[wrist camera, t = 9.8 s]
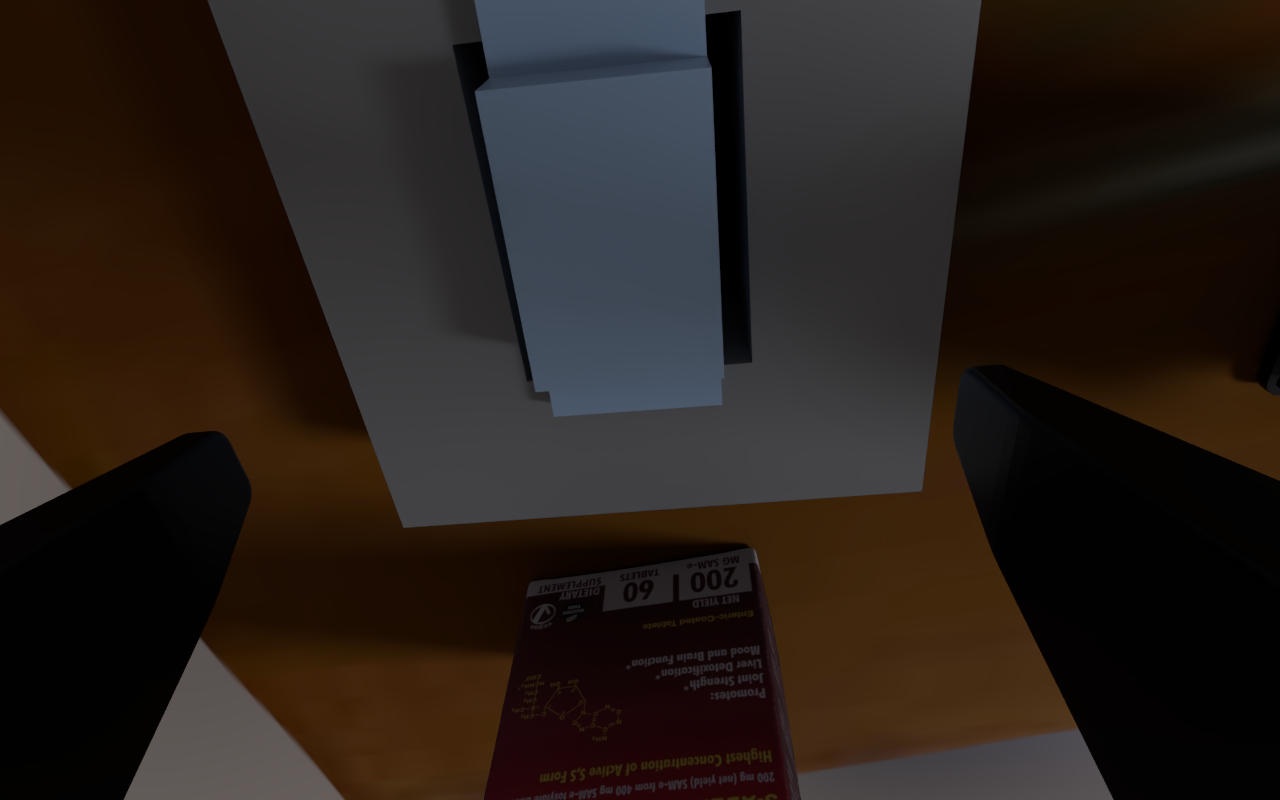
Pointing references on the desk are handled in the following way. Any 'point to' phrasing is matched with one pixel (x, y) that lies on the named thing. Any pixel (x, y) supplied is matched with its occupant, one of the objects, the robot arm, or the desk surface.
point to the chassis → (751, 318)
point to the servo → (607, 197)
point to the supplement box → (647, 688)
